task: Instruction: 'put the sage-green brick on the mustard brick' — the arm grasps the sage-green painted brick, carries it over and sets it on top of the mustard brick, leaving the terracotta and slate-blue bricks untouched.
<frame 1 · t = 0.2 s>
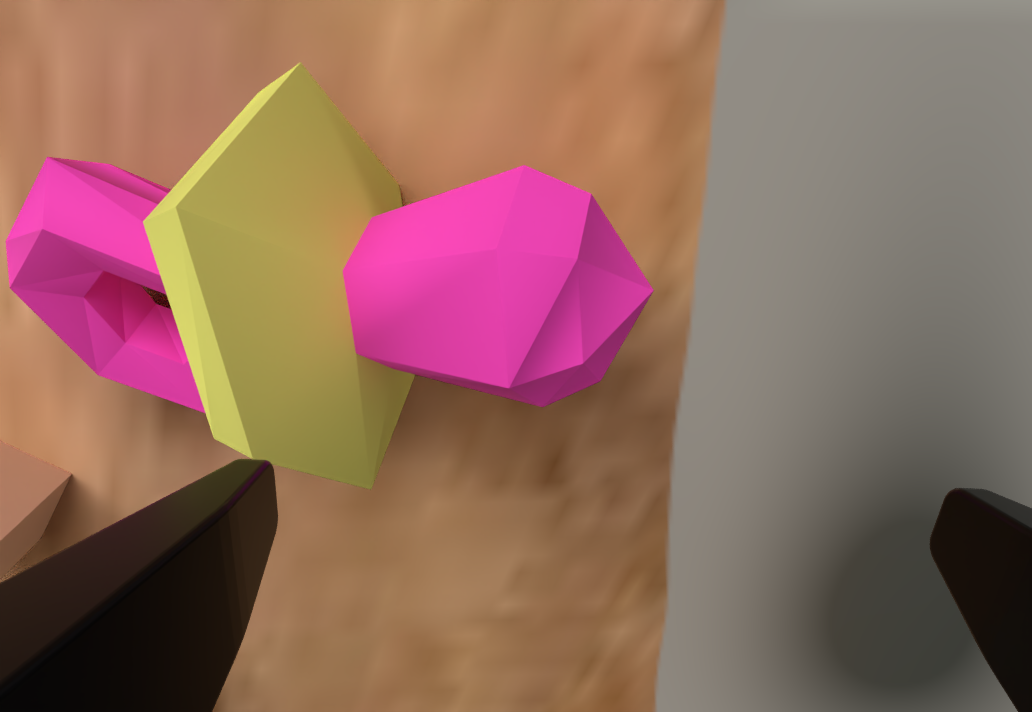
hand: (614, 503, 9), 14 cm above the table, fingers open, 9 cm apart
toy: (346, 256, 22), on the table
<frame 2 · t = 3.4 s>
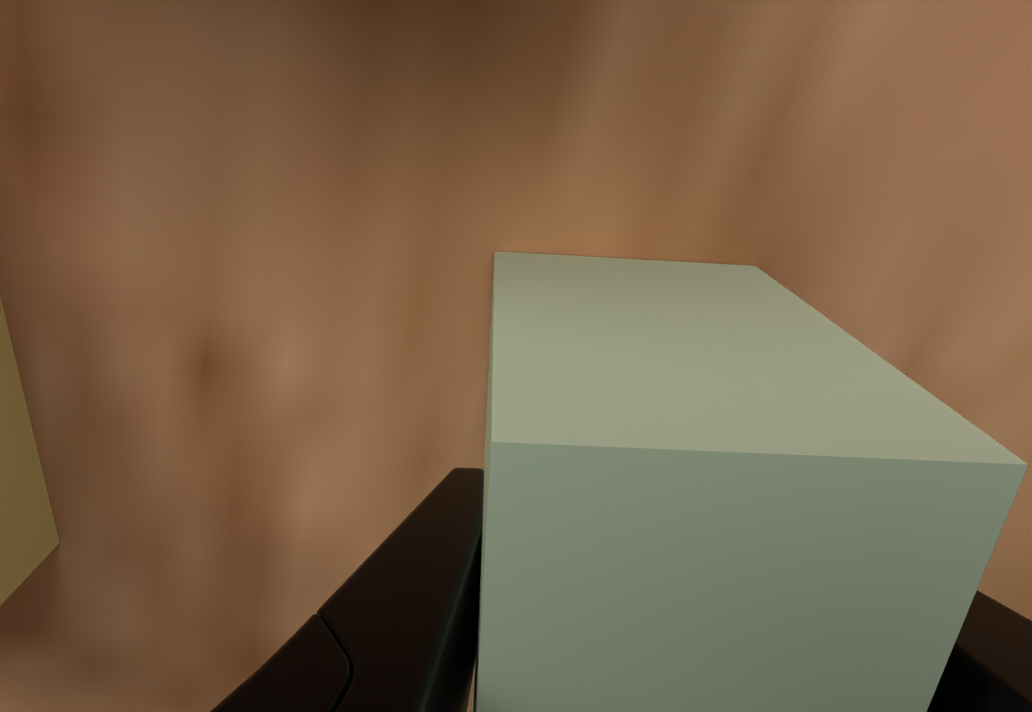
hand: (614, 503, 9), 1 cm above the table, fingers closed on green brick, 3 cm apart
green brick: (600, 454, 10), on the table, touching gripper
when the fingers open (7 cm above the table, at t = 6.5 s): green brick stays where it is, resting on mustard brick.
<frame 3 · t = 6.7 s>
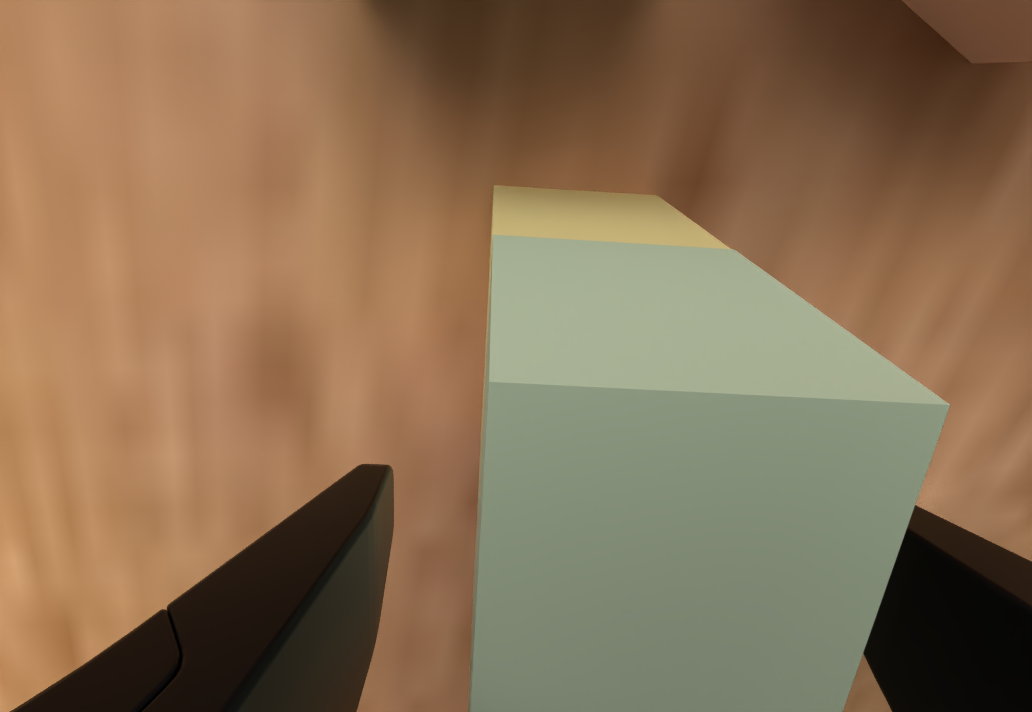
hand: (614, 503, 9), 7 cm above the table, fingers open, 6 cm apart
mustard brick: (563, 323, 15), on the table, touching green brick
green brick: (591, 426, 11), point 5 cm above the table, touching mustard brick
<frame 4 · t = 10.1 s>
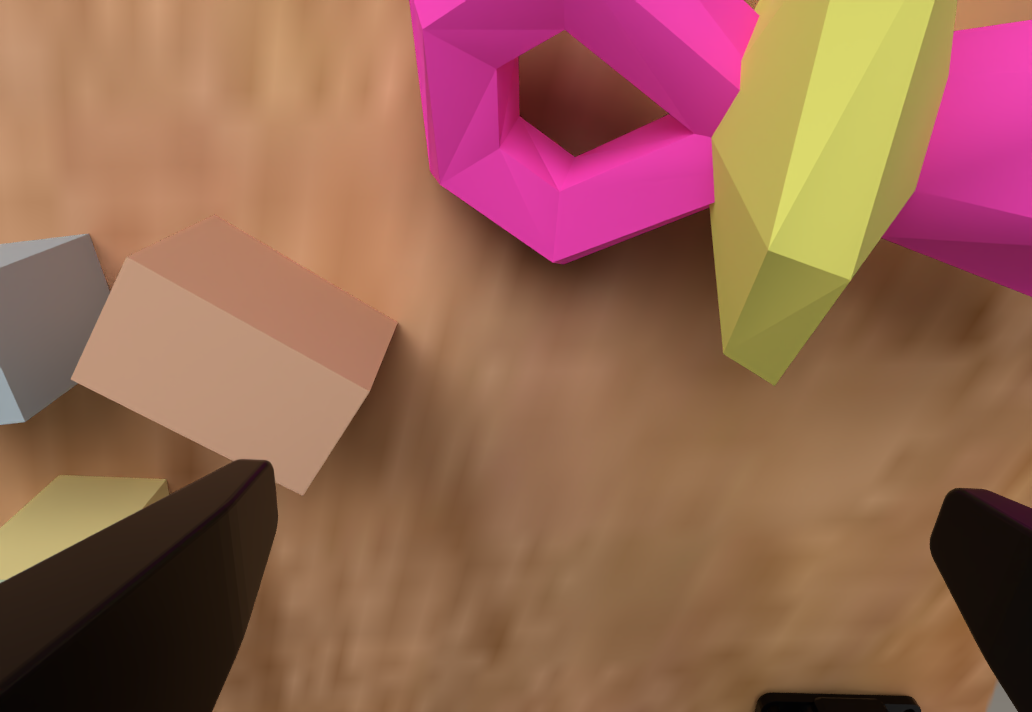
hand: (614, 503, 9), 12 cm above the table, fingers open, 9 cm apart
mustard brick: (127, 550, 24), on the table, touching green brick
slate brick: (12, 302, 20), on the table
toy: (731, 116, 19), on the table
terracotta brick: (283, 316, 20), on the table
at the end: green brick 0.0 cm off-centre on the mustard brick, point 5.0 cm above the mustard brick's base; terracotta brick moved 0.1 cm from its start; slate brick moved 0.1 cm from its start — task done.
